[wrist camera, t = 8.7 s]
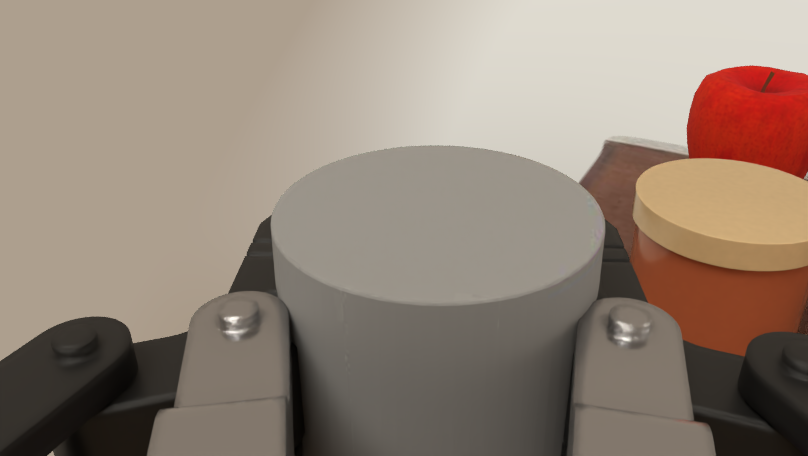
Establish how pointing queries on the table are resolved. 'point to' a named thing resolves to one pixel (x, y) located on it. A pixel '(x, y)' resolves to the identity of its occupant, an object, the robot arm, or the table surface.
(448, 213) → the container
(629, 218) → the table surface
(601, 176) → the table surface
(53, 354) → the robot arm
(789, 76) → the apple
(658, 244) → the jar
